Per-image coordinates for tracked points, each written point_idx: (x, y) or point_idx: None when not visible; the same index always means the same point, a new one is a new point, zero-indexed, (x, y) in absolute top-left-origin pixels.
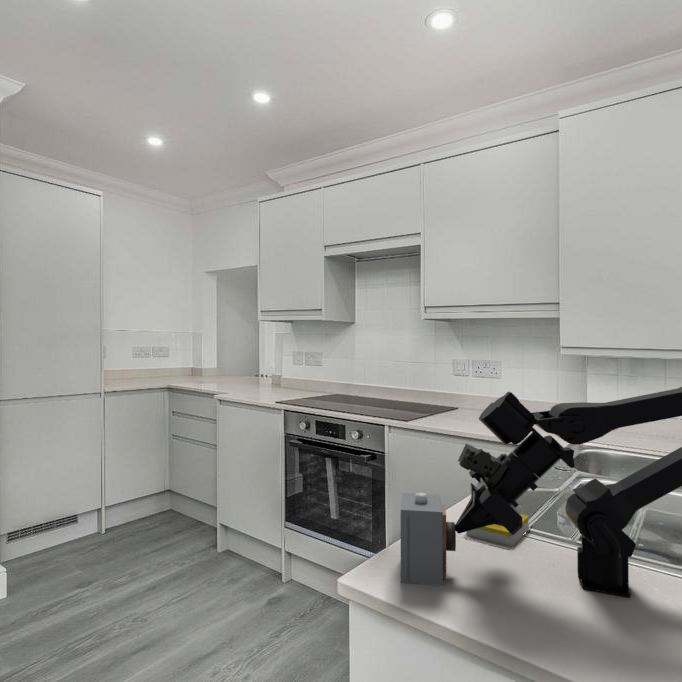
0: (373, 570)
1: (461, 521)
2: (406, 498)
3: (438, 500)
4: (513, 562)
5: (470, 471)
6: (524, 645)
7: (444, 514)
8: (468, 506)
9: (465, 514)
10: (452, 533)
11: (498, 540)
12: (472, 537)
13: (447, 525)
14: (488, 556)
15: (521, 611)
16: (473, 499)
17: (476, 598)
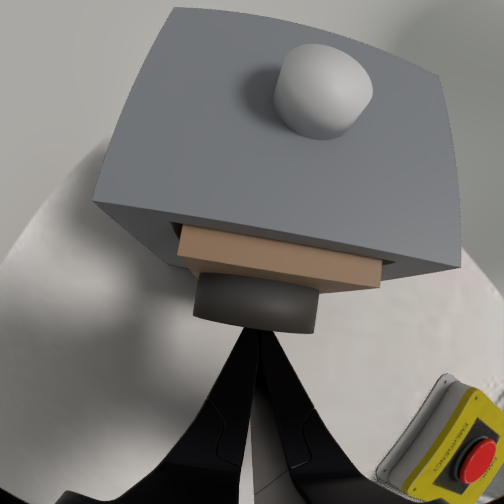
0: None
1: (226, 363)
2: (361, 56)
3: (357, 227)
4: None
5: None
6: None
7: (187, 245)
8: (281, 438)
9: (224, 397)
10: (203, 303)
11: (409, 456)
12: (441, 395)
13: (242, 285)
14: (343, 427)
15: (64, 413)
16: (189, 495)
17: (106, 336)
